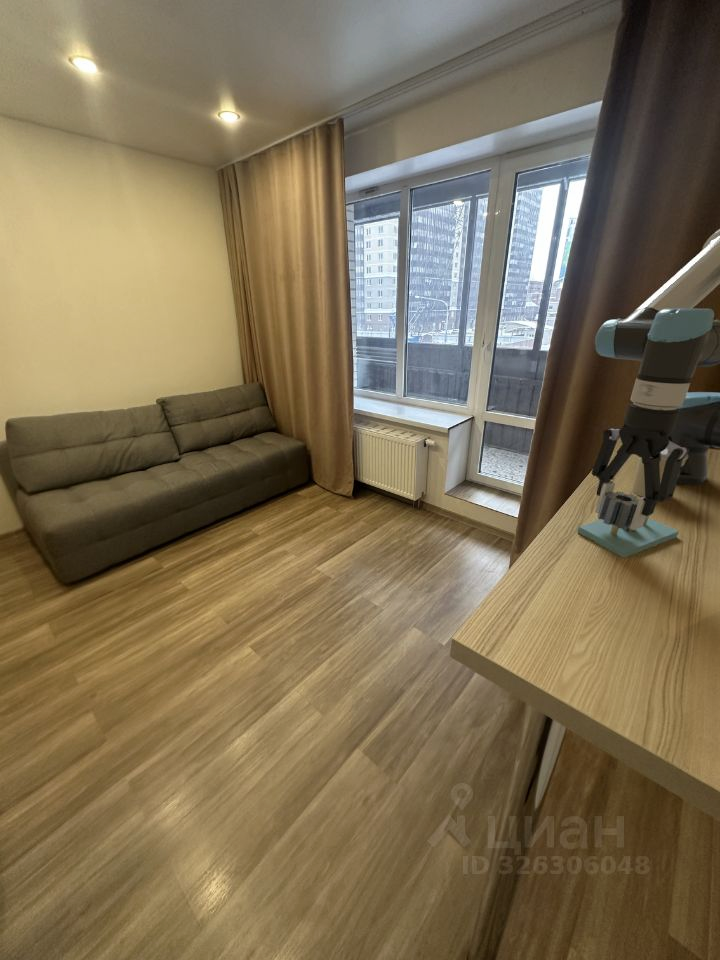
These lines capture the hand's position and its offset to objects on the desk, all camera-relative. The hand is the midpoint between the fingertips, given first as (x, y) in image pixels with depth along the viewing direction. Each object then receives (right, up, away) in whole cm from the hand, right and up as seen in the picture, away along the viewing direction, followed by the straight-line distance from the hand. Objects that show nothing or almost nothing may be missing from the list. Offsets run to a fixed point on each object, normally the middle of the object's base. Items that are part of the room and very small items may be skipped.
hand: (617, 519), depth 75 cm
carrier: (+4, -4, +4) cm, 7 cm away
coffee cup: (+23, +4, +22) cm, 32 cm away
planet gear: (0, 0, 0) cm, 0 cm away
